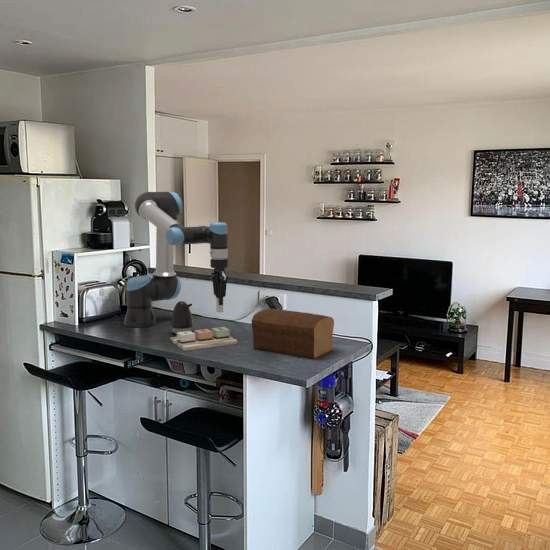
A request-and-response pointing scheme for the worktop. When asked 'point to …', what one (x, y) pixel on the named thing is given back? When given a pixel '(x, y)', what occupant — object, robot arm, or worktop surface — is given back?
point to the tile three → (221, 332)
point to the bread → (292, 332)
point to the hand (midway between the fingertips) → (219, 311)
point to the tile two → (203, 334)
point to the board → (204, 342)
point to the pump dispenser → (181, 318)
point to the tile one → (185, 336)
